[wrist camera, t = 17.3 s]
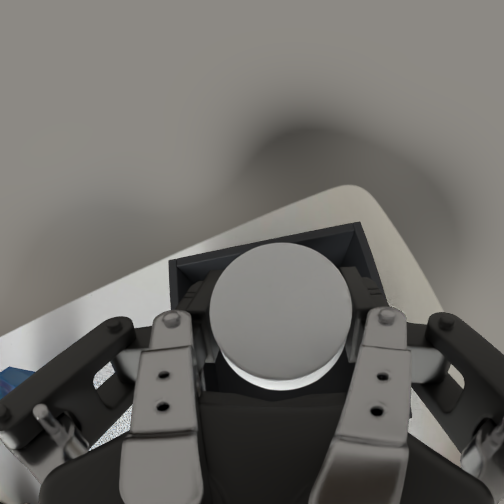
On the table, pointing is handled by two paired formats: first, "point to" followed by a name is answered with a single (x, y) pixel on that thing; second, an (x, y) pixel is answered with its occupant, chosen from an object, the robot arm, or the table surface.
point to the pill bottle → (281, 315)
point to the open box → (323, 241)
